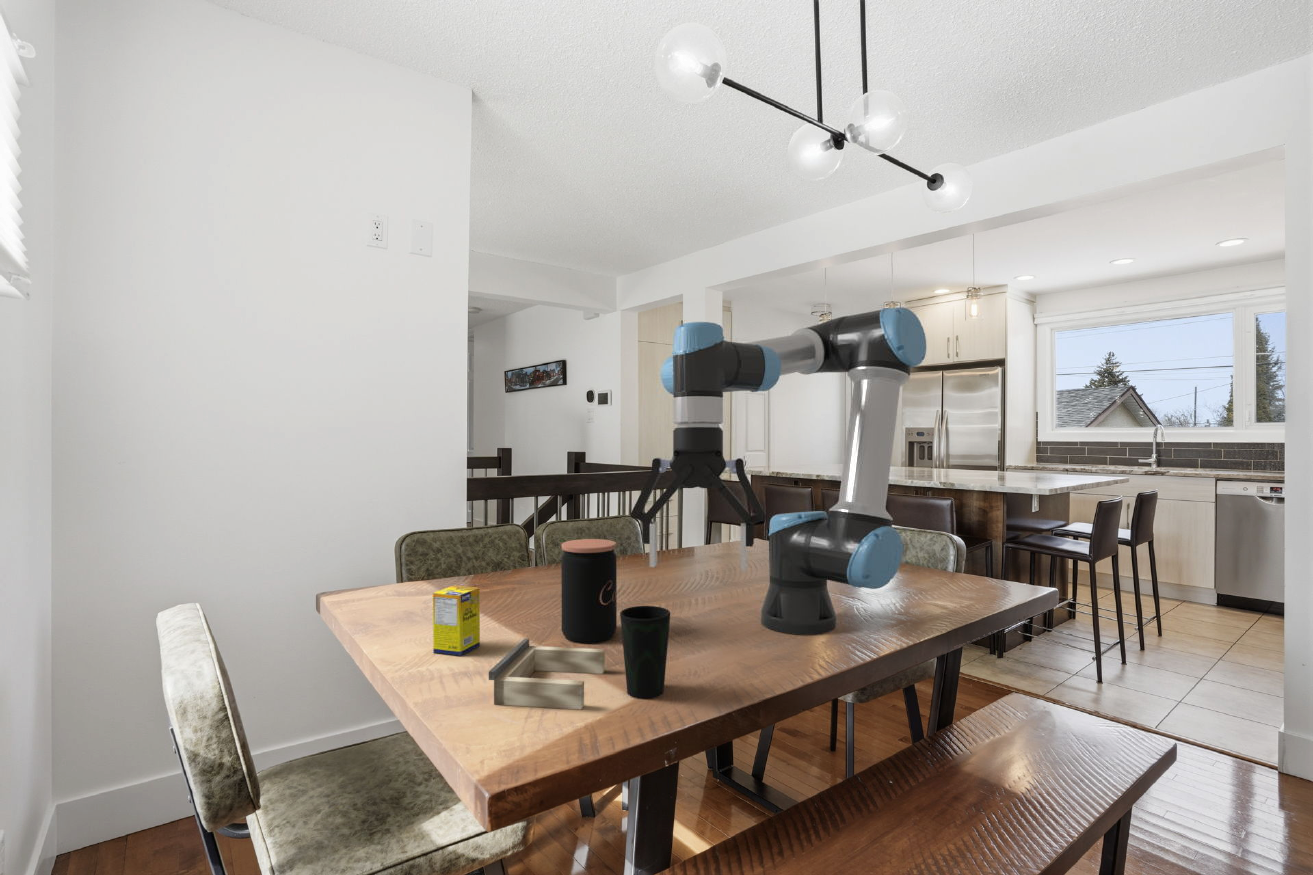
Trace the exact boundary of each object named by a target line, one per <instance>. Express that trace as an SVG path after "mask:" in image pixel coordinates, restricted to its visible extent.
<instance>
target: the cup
mask: <svg viewBox="0 0 1313 875" xmlns="http://www.w3.org/2000/svg"><path fill="white" fill-rule="evenodd" d="M619 616H620V625H621V626H620V627H621V629H620V630H621V637H622V638H621V639H622V651H623V658H624V659H623V663H624V670H625V671H624V673H625V682H626V693H627V695H629V697H632V698H634V699H639V700H640V699H641V700H648V699H649V700H651V699H652V700H653V699H656V698H659V697H661V696H662V695H664V690H665V680H666V679H665V678H666V669H667V658H668V657H667V656H668V646H669V645H668V644H669V635H670V624H671V611H670V610H669V609H667V608H666V607H665V608H664V607H661V606H656V605H655V606H654V605H637V606H630V607H626V608H624V609H622V610H621V611H620V612H619Z"/></svg>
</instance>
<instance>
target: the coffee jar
mask: <svg viewBox="0 0 1313 875" xmlns="http://www.w3.org/2000/svg"><path fill="white" fill-rule="evenodd" d="M616 548H617V542H616V541H613V540H609V539H599V538H583V539H581V538H580V539H573V540H568V541H565V542H562V543H561V549H562V551H563V554H562V555H561V560H560V561H561V570H560V571H561V575H560V576H561V580H560V583H561V633H562V634H563V636H564V638H565V640H568V641H569V642H572V643H578V644H599V643H602V642H606V641H609V640H610V639H612V638H613V637H614V635H615V633H616V631H617V627H618V626H617V623H618V620H617V613H618V612H617V610H618V608H617V607H618V605H617V604H618V603H617V601H618V600H617V594H618V593H617V590H618V589H617V576H618V575H617V569H618V568H617V554H616V553H615V549H616Z"/></svg>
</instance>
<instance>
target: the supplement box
mask: <svg viewBox="0 0 1313 875" xmlns="http://www.w3.org/2000/svg"><path fill="white" fill-rule="evenodd" d="M480 621H481V620H480V587H473V586H459V585H451V586H449V587H445V588H442V589H440V590H436V591H434V592H433V593H432V631H433V632H432V633H433V634H432V636H433V638H432V639H433V640H432V641H433V642H432V643H433V645H432V646H433V648H432V649H433V651H432V652H433V654H435V653H436V654H444V655H451V656H459V657H461V656H463V655H465V654H466V653H468V652H472V651H473V650H475V649H477V648H479V646H480V645H481V641H480V640H481V639H480V638H481V637H480V636H481V634H480V632H481V631H480V629H481V628H480V624H481V623H480Z"/></svg>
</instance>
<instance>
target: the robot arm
mask: <svg viewBox="0 0 1313 875" xmlns="http://www.w3.org/2000/svg"><path fill="white" fill-rule="evenodd" d="M672 345H673V346H672V352H671V353H672V355H671V356H670V357H668V358H667V359H665V361H664V362H663V363H662V366H661V369H660V380H661V384H662V387H663V388H664V389H665V390H666V391H667V392H668V394H671V395H672V396H673V399H672V400H673V401H672V409H673V410H672V413H673V414H672V416H673V417H672V420H673V421H672V422H673V424H674V425H676V427H675V428H674V429H673V431H672V437H673V438H672V439H673V440H672V441H673V442H672V447H673V448H672V451H673V452H672V458H671V460H670V459H662V458H661V457H656V458H653V459H652V462H651V468H650V473H649V476H648V478H647V480H646V482H645V484H644V486H643V488H642V490H641V492H640V494H639V497H638V498H637V500H636V502H635V504H634V507H633V509H632V510H631V512H630V517H631V518H632V519H635V520H638V521H640V522H641V523H642V542H643V544H644V545H649V568H655V567H656V566H657V565H658V521H653V519H654V517H656V516H657V514H658V513H659V512H660V511H661V510H662V508H663V507H664V506H665V505H666V504H667V503H668V502H669V500H670V499H671V498H672V497H673V496H674V494H676V492H677V491H678V490H679V488H680V487H681V486H683V487H684V488H687V489H694V488H700V489H709V488H711V487H713V486H714V488H715V489H716V490H717V491H718V492H719V493H720V494H721V495H722V497H723V498H724V500H726V502H728V504H729V505H730V506H731V507H732V508H733V510H734V511H735V512H736V513H737V515H739V517H740V518H741V519H742V520H743V521H744V523H743V522H742V523H740V571H746V570H747V550H746V549H747V547H753V546H754V543H755V539H754V538H755V537H754V536H755V534H754V533H755V530H754V528H755V525H756V524H758V523H759V522H764V521H766V520H767V515H766V512H765V510H764V508H763V506H762V504H761V502H760V500H759V498H758V496H757V494H756V492H755V490H754V488H753V487H752V486H753V485H751V483H750V480H749V478H748V476H747V474H746V473H745V471H746V470H745V464H744V463H745V462H744V460H743V458H740V457H738V458H736V459H731V460H726V459H725V456H724V430H723V429H722V428H721V427H720V425H721V424H723V423H724V393H731V392H732V393H734V392H751V393H757V392H767V391H770V390H771V389H772V388H774V386H775V385H776V384H777V383H778V381H779V380H780V377H781V376H786V375H790V374H795V373H799V374H801V375H804V376H805V375H812V374H818V373H820V374H823V373H847V376H848V378H849V379H850V380H851V381H852V383H853V389H852V398H851V405H850V413H849V420H848V427H847V428H848V429H847V437H846V442H845V443H846V444H845V449H844V451H845V452H844V458H843V464H842V473H841V482H840V489H839V496H838V502H837V503H836V504H835V505H833V506H832V507H831V508H829V510H828V513H827V512H826V511H823V510H817V511H800V512H789V513H788V512H786V513H778V514H775V515H773V516H772V517H771V519H770V521H769V529H768V530H769V532H768V564H769V568H768V569H769V584H768V585H769V586H768V590H767V592H766V595H765V597H764V601H763V604H762V607H761V611H760V623H761V625H763V626H764V627H766V628H768V629H770V630H773V631H775V632H781V633H785V634H792V635H820V634H826V633H830V632H832V631H834V630H835V629H836V628H837V615H836V611H835V608H834V605H833V602H832V599H831V596H830V593H829V590H828V581H829V582H834V583H835V582H836V583H841V584H843V585H847V586H848V585H849V586H852V587H853V588H859V589H860V588H861V589H862V588H864V589H871V590H876V589H881V588H883V587H885V586H887V585H888V584H890V581H891V580H893V579H894V578H895V576H896V574H897V573H898V570H899V568H900V566H901V563H902V558H903V556H904V555H903V553H904V545H903V542H902V537H901V534H900V533H899V532H898V531H897V529H895V528H893V526H892V525H893V520H894V519H893V517H892V516H891V515H890V514H889V512H888V511H887V508H886V506H887V498H888V490H889V481H890V473H891V464H892V458H893V457H892V456H893V448H894V440H895V432H896V426H897V425H896V423H897V416H898V408H899V401H900V400H899V399H900V392H901V391H900V390H901V387H902V386H903V385H905V384H906V383H907V382H908V381H910V377H911V369H912V368H915V367H917V366H919V365H921V364H922V363H923V361H924V360H925V357H926V354H927V338H926V333H925V329H924V327H923V325H922V323H921V321H920V318H919V317H918V316H917V314H916V313H914V311H912V310H911V309H909V308H907V307H901V306H898V307H891V308H889V307H885V308H882V309H879V310H873V311H868V312H862V313H857V314H851V315H845V316H840V317H836V318H832V319H829V320H827V321H824V322H821V323H817V324H815V325H814V324H813V325H811V326H809V327H808V326H807V327H803V328H799V329H797V330H794V332H793V333H791V335H785V336H779V337H773V338H768V339H761V340H756V341H750V342H745V343H744V342H735V341H728V340H725V336H724V329H723V327H722V325H720V324H718V323H717V322H716V323H715V322H710V321H709V322H708V321H693V322H686V323H682V324H679V325H678V326H677V327H676V328H675V329H674V334H673V344H672ZM667 468H670V469H671V471H672V472H673V474H674V475H675V479H674V480H673V481H672V482H671V483H670V485H668V487H667V488H666V489H665V490H664V491H663V493H662V494H661V495H660V496H659V497H658V499H657V500H656V501H655V502H654V504H653V505H652V506H651V507H650V508H649V509H648V510H647V512H645V511H644V509H645V507H646V504H647V503H648V501H649V499H650V497H651V494H652V493H653V491H654V489H655V487H656V485H657V482H658V480H659V478H660V477H661V474H662V473H663V474H664V473H665V472H666V471H667ZM726 468H728V469H729V470H730V472H731V473H732V474H736V477H737V480H738V481H739V483H740V485H741V487H742V490H743V491H744V493H745V495H746V497H747V499H748V501H749V503H750V505H751V507H752V509H753V511H754V513H753V514H751V513H750V511H748V510H747V508H746V506H744V504H743V503H742V502H741V501H740V500H739V499H738V497H737V496H736V495H735V494H734V492H733V491H732V490H730V488H729V487H728V486H727V485H726V484H727V483H725V482H724V481H723V480H722V478H721V475H722V474H723V473H724V471H725V470H726Z"/></svg>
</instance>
